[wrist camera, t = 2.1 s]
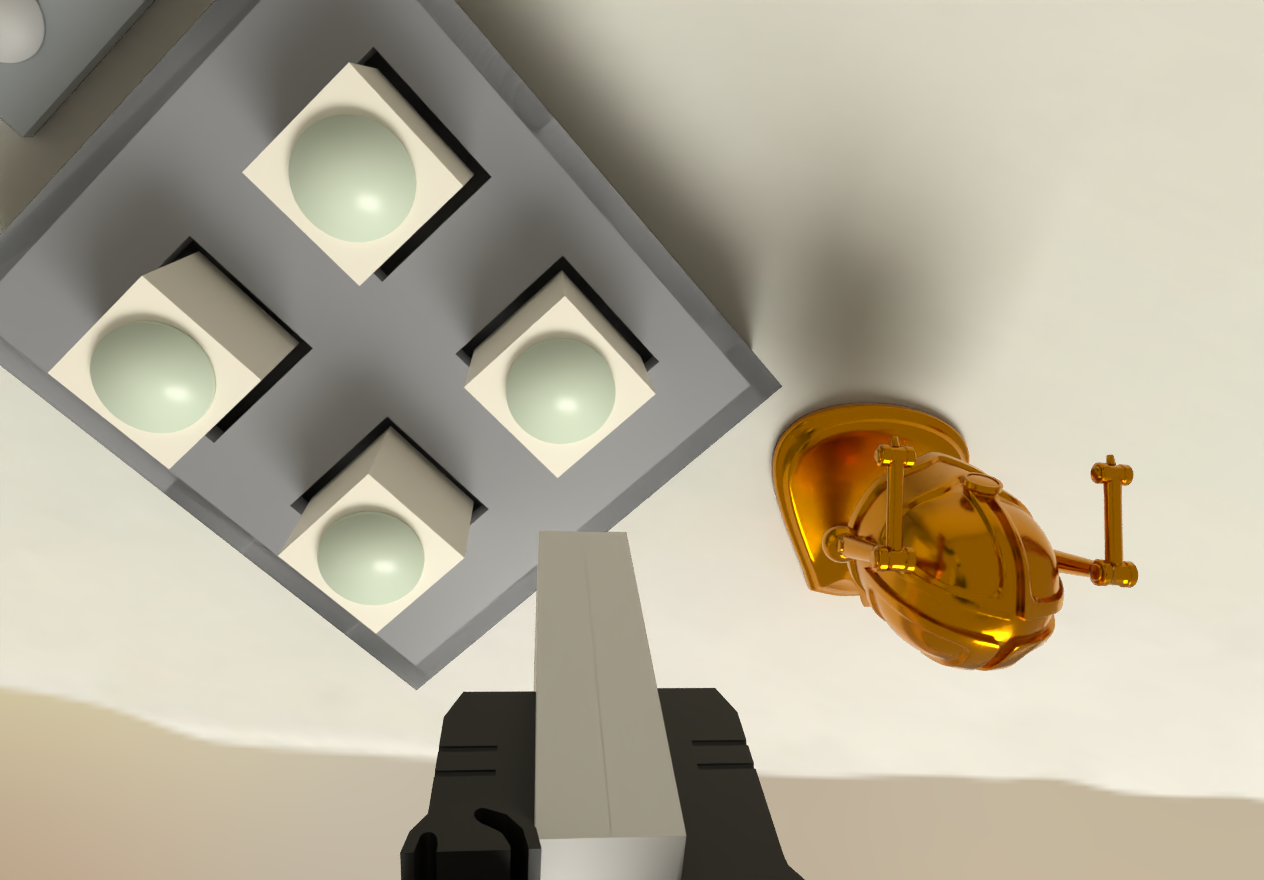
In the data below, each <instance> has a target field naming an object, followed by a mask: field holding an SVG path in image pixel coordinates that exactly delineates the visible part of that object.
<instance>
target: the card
mask: <svg viewBox="0 0 1264 880" xmlns="http://www.w3.org/2000/svg"><path fill="white" fill-rule="evenodd" d="M154 1H155V0H0V118H1V119H2V120H3V121H4V122H5V123H7V124H8V125H9V126H10V127H11V128H12V129H13V130H14V131H16V132H17V133H18V134H19V135H20V136H21V137H33V136H34V135H35V133H36V132H37V131H38V130H39V129H40V128H41V127H42V126H43V125H44V123H45V122H46V121H47V120H48V119H49V118H50V117H51V116H52V115H53V113H54V112H55V111H56V110H57V109H58V108H59V107H60V106H61V105H62V103H63V102H64V101H65V100H66V99H67V98H68V97H69V96H70V95H71V93H72V92H73V91H74V90H75V89H76V88H77V87H78V86H79V85H80V83H81V82H82V81H83V80H84V79H85V78H86V77H87V76H88V75H89V73H90V72H91V71H92V70H93V69H94V68H95V67H96V66H97V64H98V63H99V62H100V61H101V60H102V59H103V58H104V57H105V56H106V54H107V53H108V52H109V51H110V50H111V49H112V48H113V47H114V46H115V44H116V43H117V42H118V41H119V40H120V39H121V38H122V37H123V36H124V34H125V33H126V32H127V31H128V30H129V29H130V28H131V27H132V26H133V24H134V23H135V22H136V21H137V20H138V19H139V18H140V17H141V16H142V14H143V13H144V12H145V11H146V10H147V9H148V8H149V7H150V6H151V4H152V3H153V2H154Z"/></svg>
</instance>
